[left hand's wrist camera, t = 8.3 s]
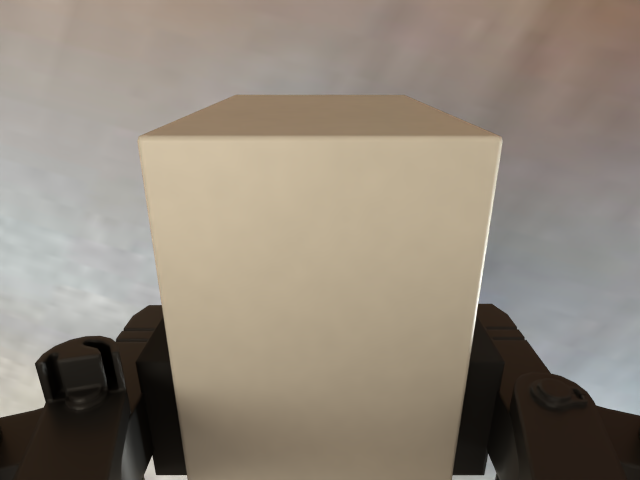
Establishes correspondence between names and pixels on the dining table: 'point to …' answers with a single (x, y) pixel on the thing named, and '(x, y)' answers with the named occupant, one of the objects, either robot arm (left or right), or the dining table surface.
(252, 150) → the post
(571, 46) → the dining table surface
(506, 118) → the dining table surface
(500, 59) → the dining table surface
